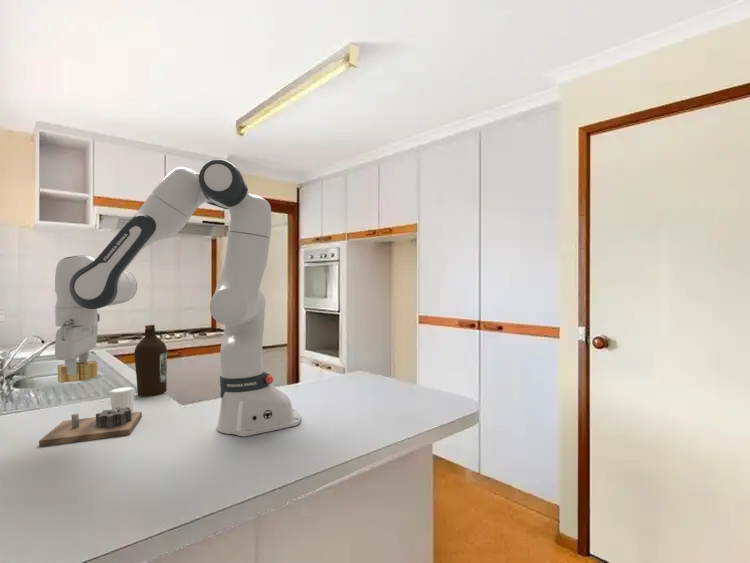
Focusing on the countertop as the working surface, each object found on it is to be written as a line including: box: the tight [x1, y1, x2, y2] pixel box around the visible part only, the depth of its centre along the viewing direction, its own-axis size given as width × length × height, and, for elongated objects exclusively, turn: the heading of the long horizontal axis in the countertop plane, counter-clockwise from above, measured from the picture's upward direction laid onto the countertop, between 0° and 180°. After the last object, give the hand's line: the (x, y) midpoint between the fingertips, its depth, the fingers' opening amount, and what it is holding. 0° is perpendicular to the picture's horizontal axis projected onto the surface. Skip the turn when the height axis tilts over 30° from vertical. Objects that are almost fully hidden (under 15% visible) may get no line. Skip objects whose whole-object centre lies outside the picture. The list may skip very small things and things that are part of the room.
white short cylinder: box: [108, 386, 135, 412], centre depth 133 cm, size 7×7×7 cm
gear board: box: [38, 407, 143, 448], centre depth 116 cm, size 20×16×5 cm
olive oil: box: [133, 324, 168, 397], centre depth 154 cm, size 11×11×25 cm
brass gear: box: [57, 360, 98, 384], centre depth 109 cm, size 8×7×4 cm
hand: (77, 371), depth 109 cm, fingers closed on brass gear, 6 cm apart
